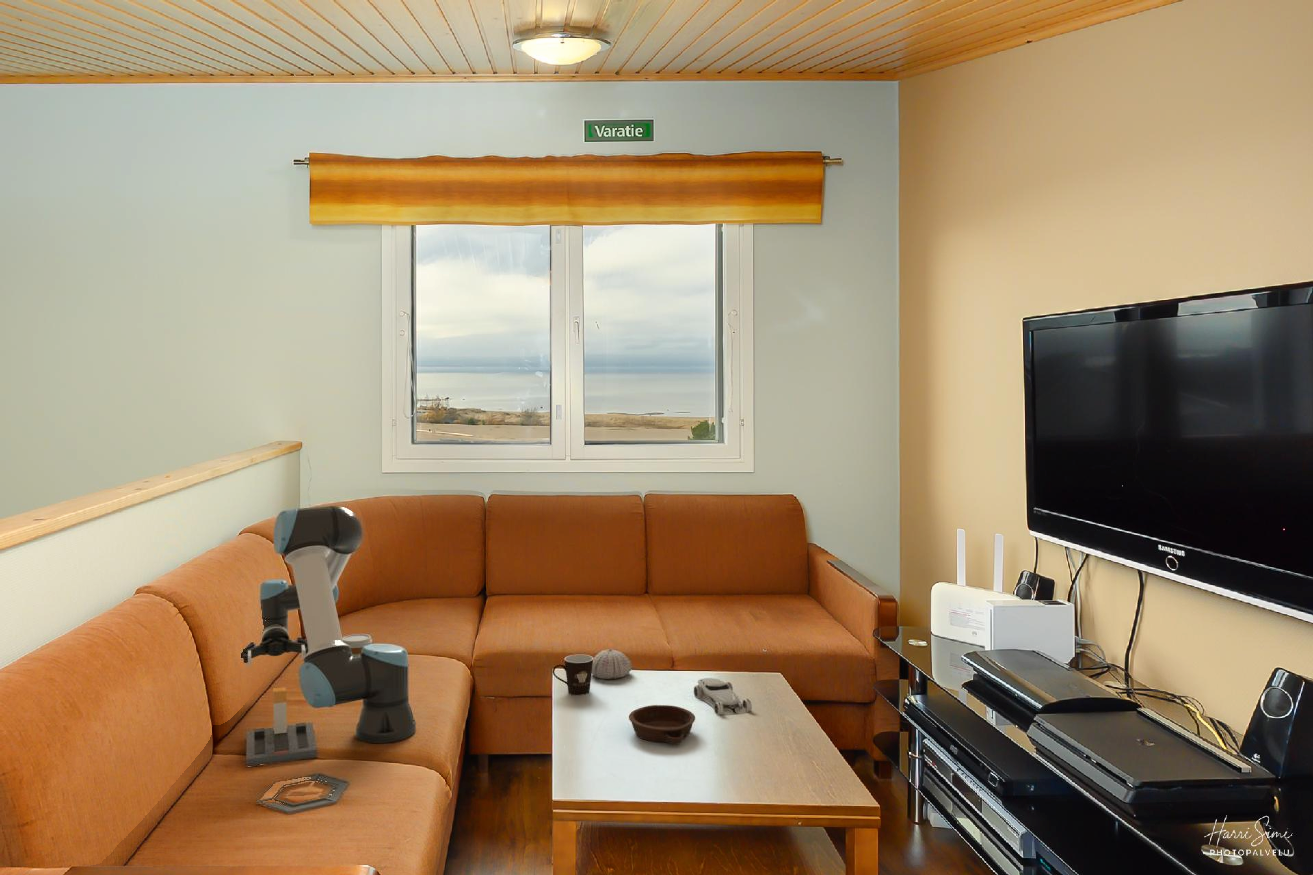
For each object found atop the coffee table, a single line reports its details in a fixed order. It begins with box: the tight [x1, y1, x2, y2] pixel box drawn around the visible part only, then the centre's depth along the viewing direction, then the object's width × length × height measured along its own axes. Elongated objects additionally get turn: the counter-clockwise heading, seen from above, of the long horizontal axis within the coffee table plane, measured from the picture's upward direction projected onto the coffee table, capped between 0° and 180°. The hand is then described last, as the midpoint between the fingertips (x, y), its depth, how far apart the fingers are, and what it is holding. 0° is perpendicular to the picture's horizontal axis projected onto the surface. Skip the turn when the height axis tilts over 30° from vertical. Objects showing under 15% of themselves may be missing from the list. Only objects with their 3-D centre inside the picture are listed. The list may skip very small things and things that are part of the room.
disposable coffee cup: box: [342, 633, 373, 655], centre depth 299 cm, size 10×10×12 cm
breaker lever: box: [272, 686, 288, 734], centre depth 245 cm, size 3×3×11 cm
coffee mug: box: [552, 654, 594, 696], centre depth 284 cm, size 12×9×10 cm
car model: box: [693, 677, 753, 716], centre depth 277 cm, size 11×24×5 cm, turn 18°
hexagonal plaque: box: [256, 772, 351, 815], centre depth 214 cm, size 17×20×1 cm
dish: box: [628, 704, 696, 745], centre depth 251 cm, size 18×22×5 cm
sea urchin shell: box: [591, 649, 633, 680], centre depth 300 cm, size 13×14×8 cm
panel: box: [245, 722, 318, 767], centre depth 240 cm, size 20×16×3 cm
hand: (277, 658), depth 254 cm, fingers open, 13 cm apart
